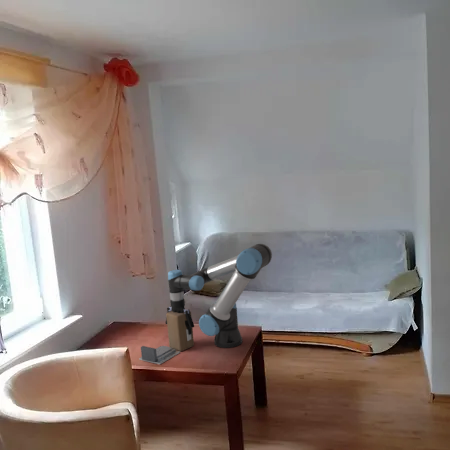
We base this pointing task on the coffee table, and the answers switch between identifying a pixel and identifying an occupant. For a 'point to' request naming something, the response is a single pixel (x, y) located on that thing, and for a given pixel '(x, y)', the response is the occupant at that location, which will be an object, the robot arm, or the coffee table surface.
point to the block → (178, 331)
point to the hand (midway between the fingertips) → (181, 338)
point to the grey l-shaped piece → (157, 354)
